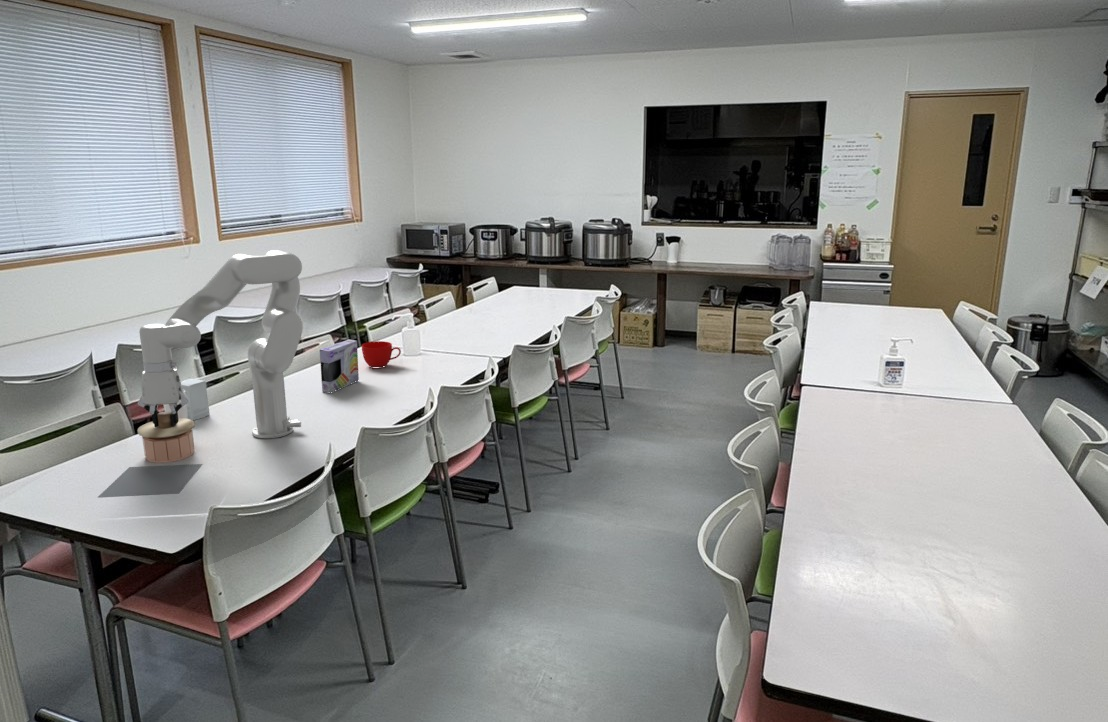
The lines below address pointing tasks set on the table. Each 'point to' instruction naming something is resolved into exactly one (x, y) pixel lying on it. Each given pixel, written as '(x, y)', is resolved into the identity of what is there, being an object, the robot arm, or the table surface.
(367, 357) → the ceramic cup
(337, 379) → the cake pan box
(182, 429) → the lid
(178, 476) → the mat
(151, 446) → the bowl
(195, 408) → the supplement box
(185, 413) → the drinking glass
